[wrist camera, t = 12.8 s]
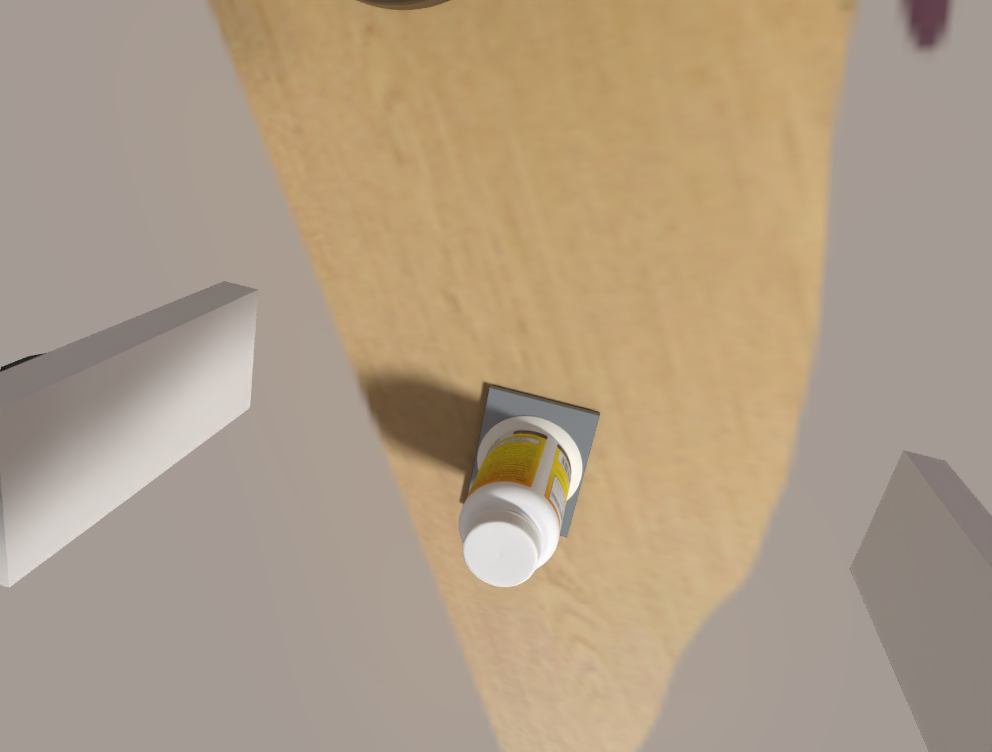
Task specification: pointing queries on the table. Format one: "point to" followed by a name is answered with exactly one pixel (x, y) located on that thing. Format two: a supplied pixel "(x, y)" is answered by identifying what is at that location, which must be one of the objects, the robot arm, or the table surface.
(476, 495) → the supplement bottle
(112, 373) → the robot arm
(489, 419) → the seat plate
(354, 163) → the table surface
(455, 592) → the table surface
